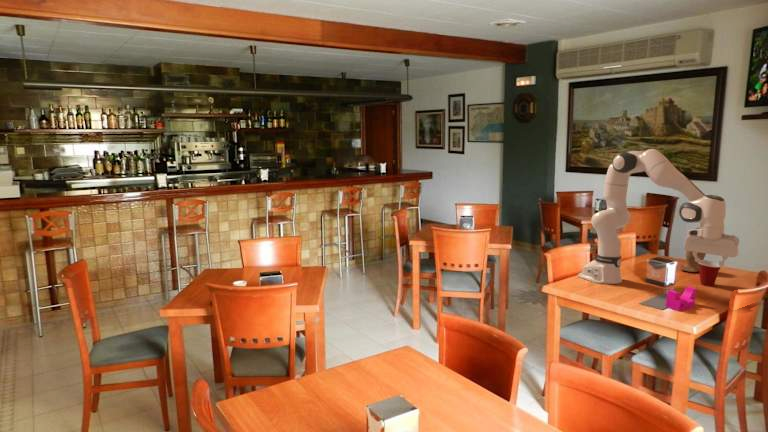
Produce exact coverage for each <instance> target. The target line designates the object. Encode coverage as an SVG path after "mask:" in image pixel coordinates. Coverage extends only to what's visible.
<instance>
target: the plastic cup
mask: <svg viewBox="0 0 768 432" xmlns="http://www.w3.org/2000/svg"><path fill="white" fill-rule="evenodd" d="M698 264H699V271H698V272H699V279H700V285H702V286H704V287H714V285H715V284H716V280H717V278H718V274H719V271H720V269H721V268H722V267H723V266H719V262H716V261H712V260H705V259H703V260H700V262H698Z"/></svg>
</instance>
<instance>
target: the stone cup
mask: <svg viewBox="0 0 768 432" xmlns="http://www.w3.org/2000/svg"><path fill="white" fill-rule="evenodd" d="M692 253H693V251H687V250H685V260H686V262H685V263H684V264H682V265H680V266H679V267H678V269H679V270H682V271H685V272H689V273H697V272H699V264H698V262H695V257H694V256H693V254H692ZM706 255H707V254H706V253H700V252H698V253H697V256H698V258H700V260H705V259H704V258H705V257H706Z"/></svg>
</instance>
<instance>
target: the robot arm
mask: <svg viewBox="0 0 768 432" xmlns="http://www.w3.org/2000/svg"><path fill="white" fill-rule="evenodd" d="M641 173H646V175H647V176H648V177H649V179H650V181H652V182H653V183H654V184H655V185H657V186H659V187H661V188H668V189H672V190H674V191H675V190H676V191H677V192H680V193H681V194H683V196H684V197H685V198H686V199H688V200H689V201H686V202H684V203H682V204H681V205H680V207H679V209H678V211H679V212H678V214H679V217H680V218H681V220H682V221H683V222H686V223H699V227H696V228H691V229H688V230H687V236H685V237H684V238H685V239H684V243H683V249H684V250H685V251H686V250H687V251H693V253H692V254H693V256H694V257H695V262H700V258H698V256H697V253H698V252H700V253H706V255H714V256H721V258H722V260H719V261H718V263H719V266H722V267H724V266H725V262H726V260H727V259H729V258H735V257H738V255H739V244H740V239H739V237H737V236H736V235H733V234H732V235H730V234H725V222H724V221H725V218H726V201H725V198H723V197H722V196H719V195H715V194H707V195H706V194H705V193H704V192H703V191H702V190H701V189H699V187H697V185H696V184H694V182H692V181H691V179H689V178H688V177H687V176H686V175H684V174H683V173H682V172H680V171H679V170H678V169H677V168H676V167H675V166H674V165H673V164H672V163H671V162H670V160H669V159H668V158H667V157H666V156H665V155H664V154H663V153H661V152H660V151H659V150H658V149H656V148H649V149H646V150H630V151H629V150H628V151H621V152H619V153H616V154H615V155H614V156H613V158H612V162H611V164H609V166H608V168H607V172H606V175H605V181H604V188H603V194H602V196H603V199H604V201H605V203H606V209H605V210H603V209H602V210H600V211H598V212H596V213H594V214H593V215H592V217H591V219H590V222H591V226H592V227H593V229H594V230H595V231H596V234H597V239H598V244H597V245H598V246H597V253H595V254H594V255H593V258H594V259H593V260H592V261H590V262H588V263H586V264H585V265H583V268H582V271H581V272H580V273H577V274H578V275H577V277H578V278H581V279H584V280H587V281H590V282H593V283H595V284H599V285H600V284H606V285H607V284H609V285H615V284H621V283H622V282H623V279H622V276H621V275H622V274H621V264H622V255H621V252H622V251H621V249H622V240H621V239H620V238H619V236H618V233H617V231H618V230H619V229H622V228H625V227H626V226H627V225H629V224H630V223H631V220H632V214H631V212H630V211H629V210H628V205H627V204H628V203H627V194H628V186H629V180H630V176H631V175H632V174H641Z"/></svg>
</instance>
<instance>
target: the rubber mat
mask: <svg viewBox="0 0 768 432" xmlns="http://www.w3.org/2000/svg"><path fill="white" fill-rule="evenodd" d="M666 299H667V293H666V292H663V293H660V294H657V295H655V296H652V297H650V298H648V299H646V300H644V301H642V302H640V303H639V304H638V305H641V304H642V306H646V307H648V308H649V307H650V308H654V309H657V310H661V311H664V310H666V309H667V308H669V307H667V306H666Z"/></svg>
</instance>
